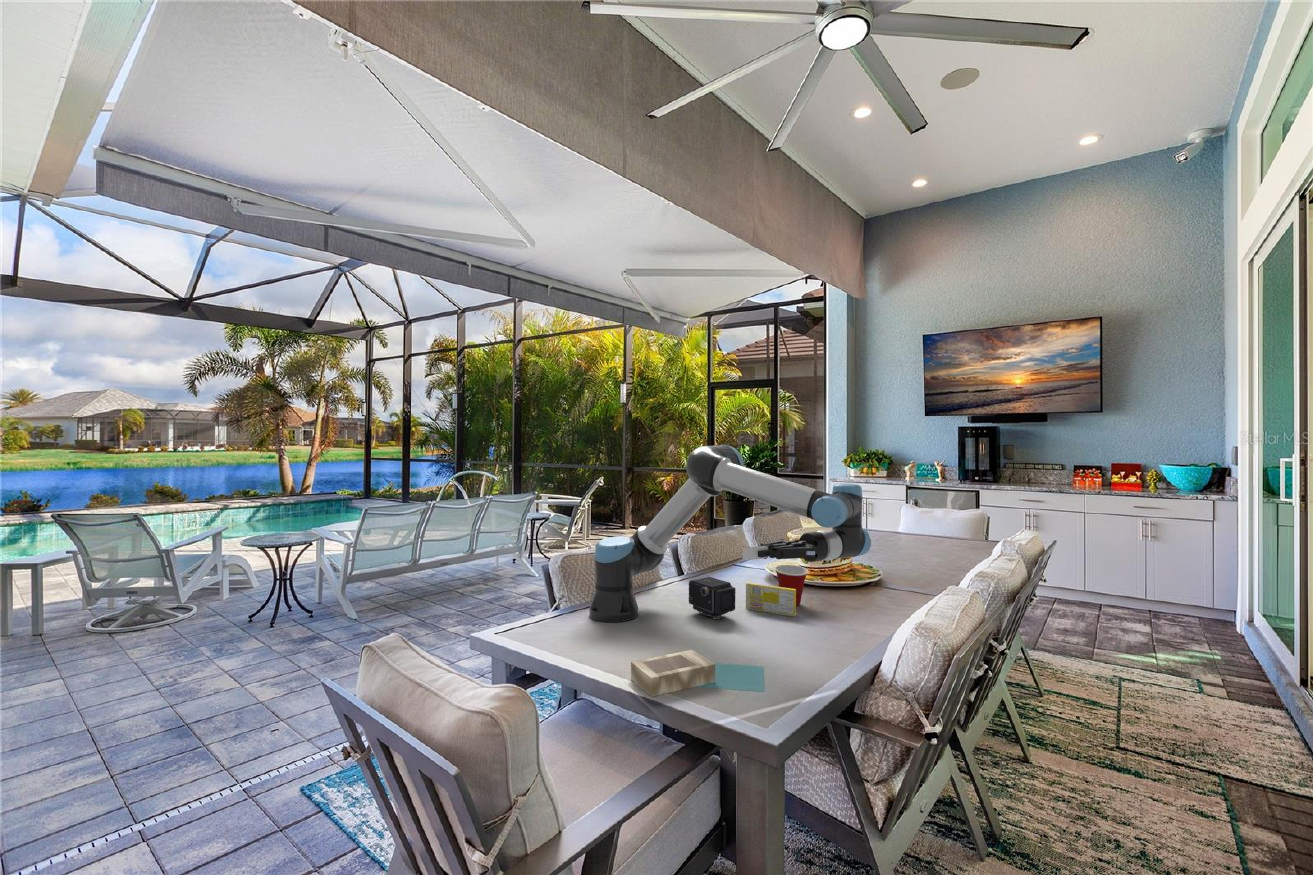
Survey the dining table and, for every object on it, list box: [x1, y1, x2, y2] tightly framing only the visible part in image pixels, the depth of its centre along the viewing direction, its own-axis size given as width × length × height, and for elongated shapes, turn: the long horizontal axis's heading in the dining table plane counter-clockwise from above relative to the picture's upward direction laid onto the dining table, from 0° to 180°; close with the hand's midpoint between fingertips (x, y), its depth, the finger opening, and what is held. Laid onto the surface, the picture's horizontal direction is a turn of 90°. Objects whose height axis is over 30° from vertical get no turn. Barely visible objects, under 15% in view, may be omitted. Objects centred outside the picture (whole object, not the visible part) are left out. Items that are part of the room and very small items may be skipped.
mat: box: [695, 662, 765, 693], centre depth 135 cm, size 26×14×1 cm, turn 81°
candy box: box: [745, 582, 797, 618], centre depth 186 cm, size 16×2×8 cm, turn 58°
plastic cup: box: [774, 564, 809, 608], centre depth 193 cm, size 11×11×12 cm
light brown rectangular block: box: [630, 649, 715, 698], centre depth 132 cm, size 4×10×16 cm
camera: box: [688, 576, 736, 620], centre depth 182 cm, size 11×11×15 cm
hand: (744, 554), depth 141 cm, fingers closed
